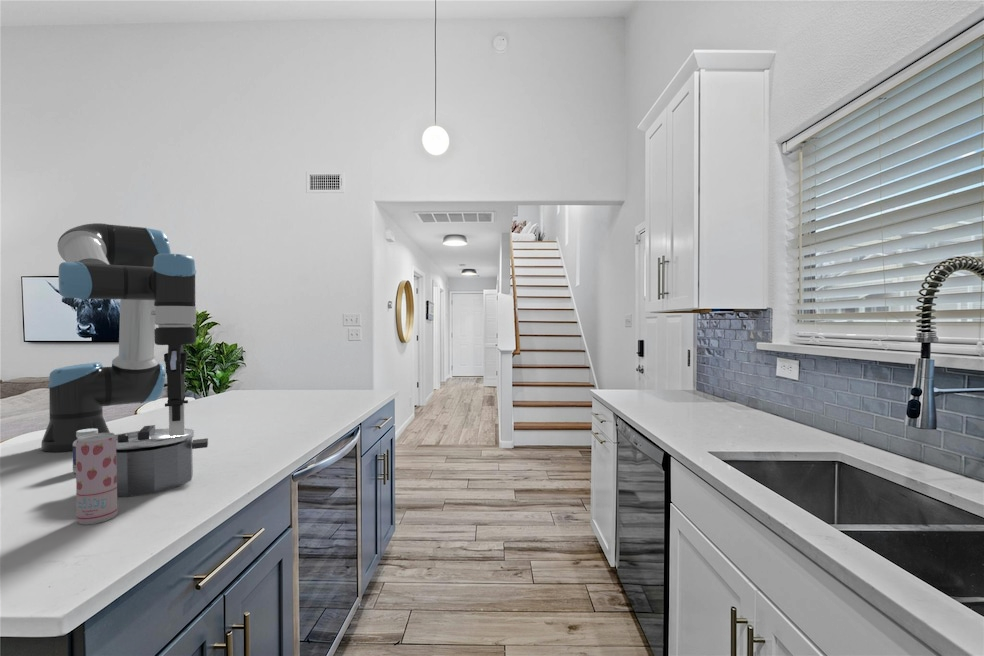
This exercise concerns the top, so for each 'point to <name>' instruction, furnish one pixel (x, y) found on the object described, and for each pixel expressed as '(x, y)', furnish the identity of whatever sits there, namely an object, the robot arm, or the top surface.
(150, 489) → the pot
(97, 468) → the beverage can
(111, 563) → the top surface
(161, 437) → the lid
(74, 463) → the pill bottle
